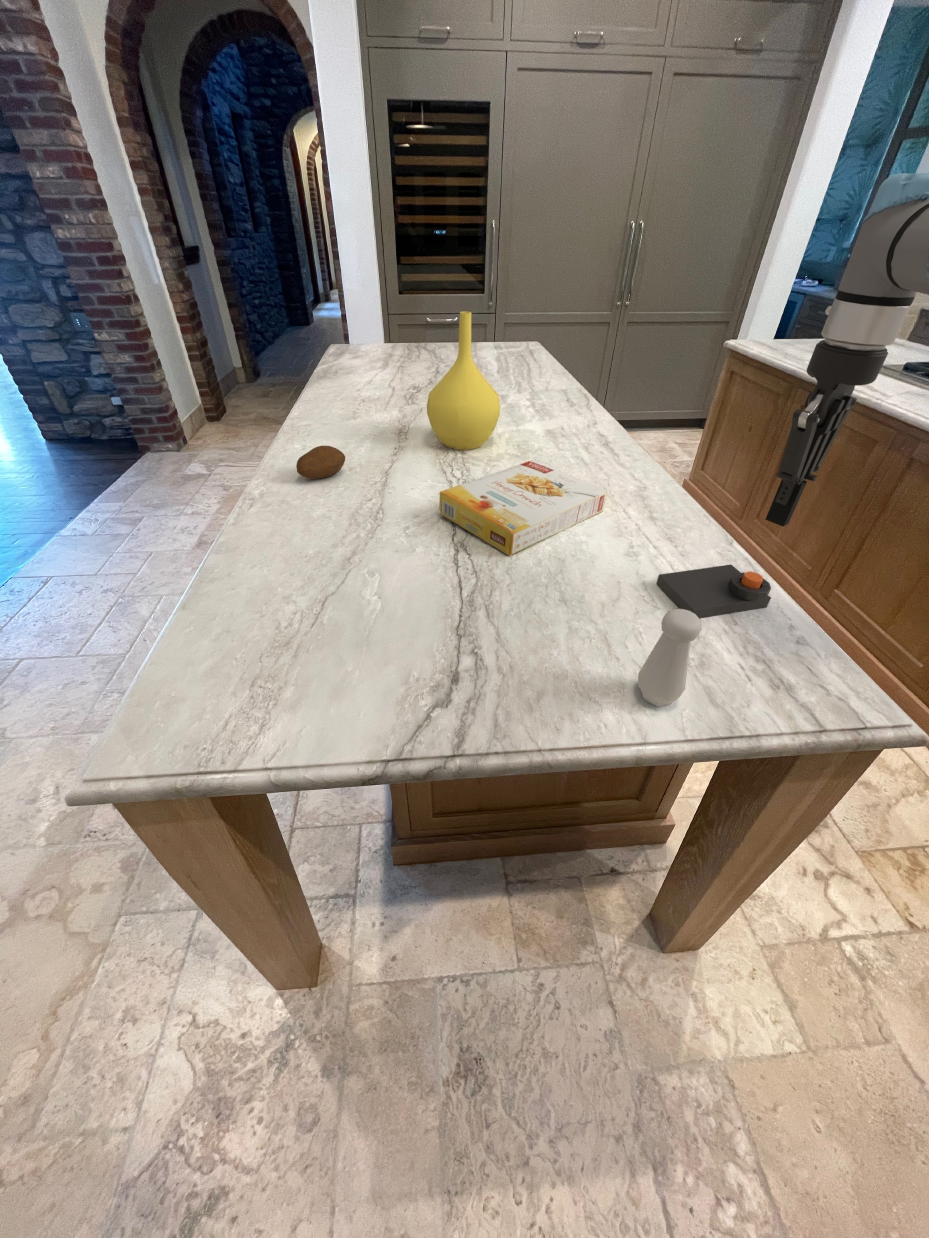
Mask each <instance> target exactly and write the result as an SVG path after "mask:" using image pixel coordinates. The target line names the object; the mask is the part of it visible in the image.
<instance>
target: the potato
mask: <svg viewBox="0 0 929 1238" xmlns="http://www.w3.org/2000/svg"><path fill="white" fill-rule="evenodd" d="M345 462H346V455H345V454H344V452H343V451H341V450H340V449H338V448H336V447H334V446H331V445H319V446H315V447H313V448H311V449H309V451H308V452H305V453H304V454H302V455H301V456H299V458H298V459H297V461H296V465H295V466H296V467H295V468H296V472H297V474H298V475H299V476H300V477H303V478H305V479H308V480H319V479H325V478H330V477H332V476H335V475H337V474H338V473H339V472H340V471H341V470H342V468H343V466H344V464H345Z"/></svg>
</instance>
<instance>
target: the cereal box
mask: <svg viewBox="0 0 929 1238" xmlns="http://www.w3.org/2000/svg"><path fill="white" fill-rule="evenodd" d="M607 494H608V489H607V488H606V487H603V486H601V485H598V484H595V483H593V482H591V481H588V480H586V479H583V478H581V477H578V476H576V475H573V474H571V473H569V472H566V471H565V470H562V469H560V468H556V467H554V466H552V465H550V464H548V463H545V462H543V461H540V460H538V459H535V458H534V459H531V460H529V461H526V462H523V463H519V464H517V465H514V466H511V467H507V468H504V469H502V470H499V471H496V472H494V473H490V474H488V475H485V476H482V477H479V478H476V479H472V480H470V481H467V482H464V483H460V484H458V485H455V486H452V487H449V488H447V489H443V490H441V491H439V499H438V500H439V503H438V510H439V514H440V516H442V517H445V519H448V520H449V521H450V522H453V523H454V524H456V525H458V526H459V527H461V528H463V529H464V530H466V531H468V532H469V533H470V534H473V535H474V536H475V537H477V538H479V539H481V540H483V542H486V543H487V544H489V545H490V546H492V547H494V548H495V549H497V550H498V551H500V552H502V553H504V554H505V555H507V556H512V555H514V554H516V553H518V552H520V551H522V550H525V549H527V548H530V547H531V546H533V545H535V544H537V543H539V542H541V541H543V540H545V539H547V538H550V537H552V536H553V535H557V534H558V533H560V532H562V531H564V530H566V529H569V528H570V527H573V526H576V525H577V524H579V523H581V522H583V521H585V520H588V519H589V518H591V517H593V516H595V515H598V514H599V513H602V512H604V511H603V510H604V508H605V503H606V499H607V496H608V495H607Z"/></svg>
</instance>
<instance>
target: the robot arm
mask: <svg viewBox="0 0 929 1238" xmlns="http://www.w3.org/2000/svg"><path fill="white" fill-rule="evenodd" d="M917 293H920V294H924V295H928V296H929V172H917V173H915V172H914V173H909V172H905V173H904V172H903V173H895V174H892V175H890V176H888V177H887V178H886V179H885V180H884V181H883V182H882V183H881V184H880V186H879V188H878V190H877V192H876V194H875V197H874V199H873V201H872V203H871V205H870V208H869V210H868V213H867V215H866V216H865V217H864V218H863V220H862V223H861V228H860V230H859V233H858V235H857V238H856V240H855V244H854V246H853V248H852V252H851V254H850V257H849V260H848V262H847V264H846V267H845V270H844V273H843V275H842V277H841V281H840V283H839V286H838V289H837V292H836V295H835V297H834V300H833V303H832V305H828V306H827V308H826V309H825V314H826V316H827V318H826V320H825V323H824V325H823V328H822V330H821V332H820V334H821V336H822V338H824V339H822V340H819V342H816V344H815V346H814V349H813V351H812V355H811V357H810V360H809V362H808V364H807V367H806V373H807V375H808V376H809V377H810V378H814V379H815V380H816V384H815V386H814V388H813V390H812V391H811V392H810V393H809V394H808V395H807V398H806V400H805V401H804V404H803V405H804V410H802V409H798V408H797V409H795V411H794V412H793V414H792V417H791V418H792V419H791V427H790V431H789V434H788V438H787V441H786V443H785V447H784V451H783V454H782V457H781V460H780V463H779V467H778V471H777V472H776V474H775V477H776V478H778V479H781V480H780V483H779V485H778V487H777V490H776V493H775V495H774V498H773V500H772V503H771V505H770V507H769V510H768V512H767V515H766V517H765V519H764V520H765V521H768V522H770V523H773V524H775V525H777V526H780V527H783V528H784V527H786V526H788V525H789V524H790V521H791V519H792V517H793V515H794V513H795V510H796V507H797V505H798V503H799V502H800V499H801V497H802V494H803V492H804V491H805V488H806V486H807V483H808V481H811V482H812V483H813V482H815V481H816V480H817V478H818V475H815V474H814V473H817V472H818V471H819V470H820V468H821V466H822V464H823V462H824V460H825V458H826V456H827V454H828V452H829V451H830V449H831V447H832V445H833V444H834V441H835V439H836V437H837V436H838V434H839V432H840V430H841V428H842V426H843V424H844V422H845V421H846V419H847V418H848V415H849V414H850V412H851V411H852V410H853V408H854V406H855V405H856V403H857V401H858V398H857V397H854V396H852V394H853V393H854V391H855V388H856V386H857V387H858V386H868V385H870V384H873V383H874V382H875V381H876V380H877V378H878V376H879V375H880V374H879V373H880V371H881V370H882V368H883V366H884V363H885V361H886V359H887V356H888V355H889V352H888V348H886V346H891V345H892V344H894V343H895V341H896V339H897V337H898V335H899V332H900V330H901V328H902V326H903V323H904V322H905V320H906V318H907V315H908V313H909V311H910V308H911V306H912V304H913V301H914V300H915V297H916V294H917ZM806 480H807V481H806Z"/></svg>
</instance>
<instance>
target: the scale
mask: <svg viewBox="0 0 929 1238" xmlns="http://www.w3.org/2000/svg"><path fill="white" fill-rule="evenodd" d="M744 573H745V572H741V571H740V570H739V569H738V568H736V567H735V566H734V565H733V564H725V565H718V566H709V567H704V568H696V569H689V570H682V571H675V572H667V573H660V574H658V576H657V580H656V583H655V584H656V586H657V587H658V588H659V589H660V590H661V591H662V592H663V593H664V594H665V595H666V596H667V597H668V598H669V600H670V601H672V603H674V604H675V606H677V607H678V609H685V610H688V611H691V612H692V613H694V614H696V616H697V617H698V618H699V619H704V618H710V617H716V616H721V615H727V614H734V613H739V612H747V611H753V610H758V609H765V608H768V606H769V604H770V601H771V599H772V597H771V596H770V592H771V589H772V587H771V583H770V582H769V581H768V580H767V579H765V578H764V577H763V581H762V583H761V586H760V588H758V589H753V588H748V587H746V586H744V585H743V584H741V580H742V578H743V575H744Z"/></svg>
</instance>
